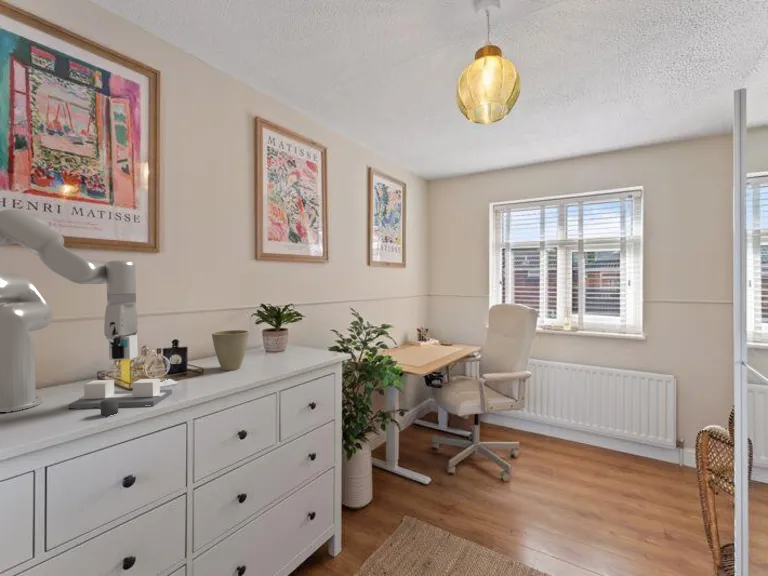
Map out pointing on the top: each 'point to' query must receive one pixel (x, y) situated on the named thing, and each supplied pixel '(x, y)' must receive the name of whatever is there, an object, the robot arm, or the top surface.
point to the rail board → (121, 394)
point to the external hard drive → (168, 383)
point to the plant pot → (230, 348)
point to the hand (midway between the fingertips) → (123, 356)
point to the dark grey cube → (109, 407)
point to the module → (127, 347)
